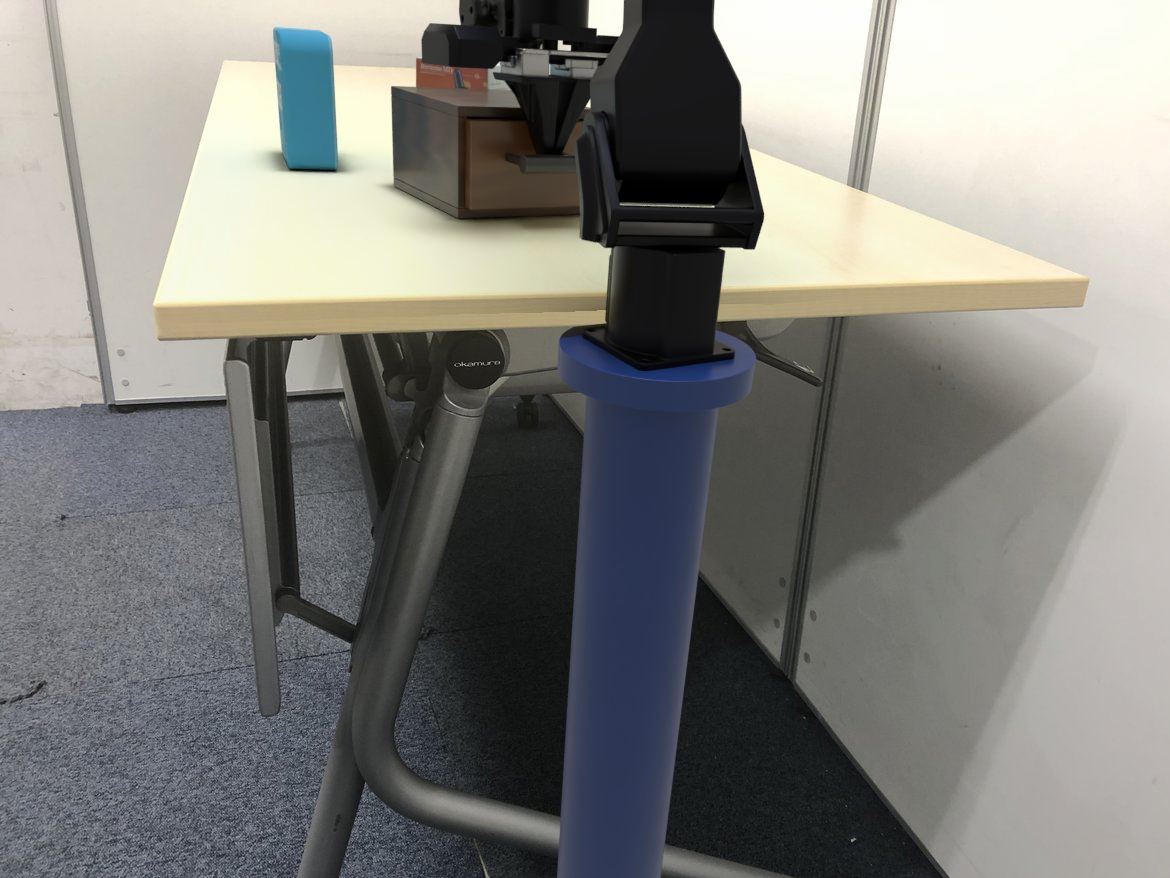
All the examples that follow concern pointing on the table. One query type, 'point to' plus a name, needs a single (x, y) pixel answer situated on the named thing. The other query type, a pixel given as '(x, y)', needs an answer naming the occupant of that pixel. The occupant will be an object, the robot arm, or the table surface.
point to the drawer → (516, 167)
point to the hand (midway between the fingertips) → (547, 169)
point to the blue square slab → (306, 98)
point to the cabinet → (447, 145)
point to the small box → (457, 77)
